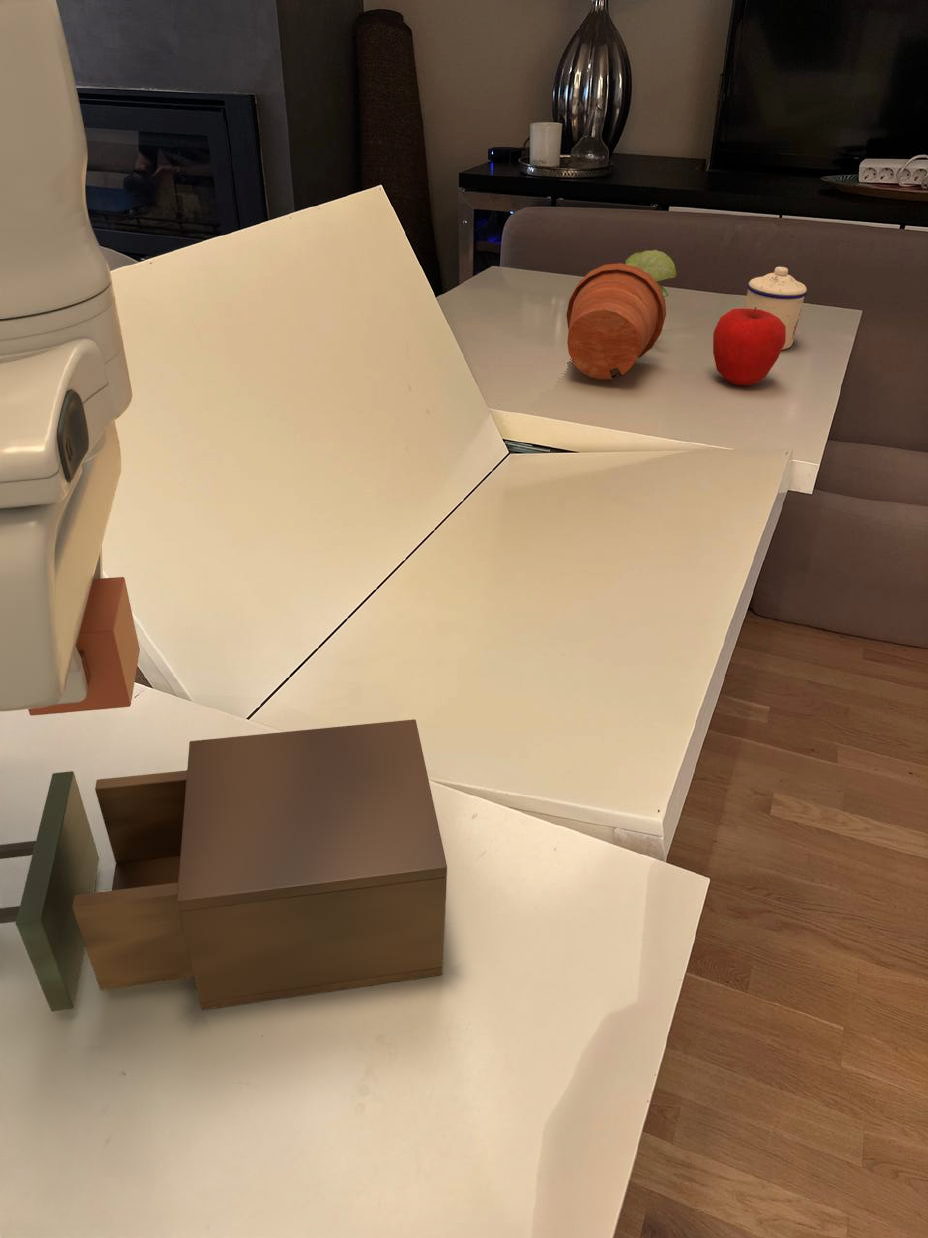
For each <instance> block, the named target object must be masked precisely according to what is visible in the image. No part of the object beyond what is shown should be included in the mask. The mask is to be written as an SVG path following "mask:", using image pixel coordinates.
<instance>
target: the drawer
mask: <svg viewBox="0 0 928 1238" xmlns="http://www.w3.org/2000/svg"><path fill="white" fill-rule="evenodd" d="M186 780H187V769H185V770H177V771H168V772H167V771H166V772H160V773H159V772H157V773H147V774H138V775H129V776H127V775H126V776H117V777H110V778H109V777H107V778H99V779H96V781H95V786H94V791H95V795H96V797H97V802H98V806H99V809H100V812H101V816H102V819H103V822H104V826H105V830H106V833H107V837H108V841H109V844H110V848H111V851H112V854H113V858H114V863H115V866H114V872H113V879H112V887H111V890H106V891H97V892H96V891H95V888H96V887H95V886H96V881H97V876H98V870H99V863H100V856H99V852H98V848H97V845H96V843H95V838H94V836H93V832H92V829H91V825H90V822H89V819H88V815H87V812H86V808H85V806H84V801H83V798H82V794H81V791H80V789H79V785H78V781H77V778H76V774H75V772H74V771H73V770H70V771H60V772H53V773H52V774H51V778H50V782H49V786H48V789H47V793H46V794H47V795H46V799H45V802H44V806H43V809H42V815H41V819H40V822H39V827H38V831H37V835H36V839H35V840H29V841H21V842H12V843H5V844H4V843H3V844H0V860H3V859H4V860H5V859H12V858H22V857H29V856H31V860H30V864H29V868H28V871H27V875H26V880H25V884H24V887H23V892H22V895H21V900H20V904H19V905H15V906H7V907H0V925H1V924H9V923H15V925H16V928H17V930H18V933H19V935H20V938H21V940H22V943H23V945H24V948H25V950H26V952H27V955H28V958H29V960H30V963H31V965H32V968H33V970H34V973H35V975H36V978H37V980H38V983H39V985H40V988H41V990H42V993H43V995H44V997H45V1000H46V1003H47V1005H48V1008H49V1009H50V1012H53V1013H54V1012H61V1011H68V1010H73V1009H74V1008H75V1004H76V998H77V992H78V988H79V987H78V985H79V983H80V982H79V981H80V975H81V970H82V969H81V968H82V963H83V958H84V952H85V949H86V952H87V956H88V959H89V961H90V965H91V967H92V971H93V973H94V976H95V979H96V982H97V984H98V987H99V990H100V991H106V990H113V989H120V988H128V987H135V986H142V985H149V984H155V983H156V984H157V983H162V982H170V981H177V980H185V979H191V978H192V979H193V978H194V974H193V970H192V966H191V961H190V957H189V953H188V948H187V944H186V940H185V935H184V931H183V927H182V922H181V918H180V914H179V909H178V905H177V891H178V878H179V866H180V854H181V841H182V829H183V817H184V804H185V792H186Z"/></svg>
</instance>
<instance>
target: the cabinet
mask: <svg viewBox="0 0 928 1238" xmlns="http://www.w3.org/2000/svg"><path fill="white" fill-rule="evenodd" d="M188 743H189V745H188V754H187V755H188V756H187V768H186V770H187V780H186V792H185V804H184V817H183V829H182V841H181V854H180V866H179V878H178V891H177V905H178V909H179V914H180V918H181V922H182V927H183V931H184V935H185V940H186V944H187V948H188V953H189V957H190V961H191V966H192V970H193V974H194V977H193V979H194V983H195V986H196V992H197V995H198V1001H199V1003H200V1008H201V1010H208V1009H209V1010H211V1009H215V1008H223V1007H230V1006H238V1005H244V1004H250V1003H251V1004H252V1003H257V1002H264V1001H271V1000H276V999H277V1000H278V999H285V998H291V997H298V996H305V995H306V996H307V995H313V994H320V993H325V992H332V991H339V990H344V989H345V990H346V989H353V988H359V987H366V986H367V987H368V986H372V985H373V986H374V985H381V984H386V983H393V982H400V981H407V980H414V979H423V978H428V977H435V976H441V975H443V972H444V956H445V955H444V954H445V953H444V950H445V934H446V933H445V931H446V930H445V929H446V908H447V907H446V905H447V883H448V882H447V881H448V879H447V878H448V865H447V860H446V855H445V850H444V846H443V841H442V840H443V839H442V836H441V831H440V826H439V821H438V818H437V813H436V808H435V802H434V799H433V793H432V789H431V784H430V779H429V775H428V770H427V766H426V761H425V757H424V751H423V746H422V742H421V737H420V732H419V728H418V723H417V719H415V718H414V719H403V720H394V721H383V722H382V721H381V722H373V723H363V724H353V725H352V724H351V725H343V726H342V725H341V726H332V727H322V728H321V727H319V728H310V729H300V730H291V731H290V730H289V731H281V732H279V731H278V732H270V733H260V734H259V733H258V734H249V735H240V736H239V735H238V736H229V737H219V738H208V739H198V740H197V739H196V740H190V741H189V742H188Z"/></svg>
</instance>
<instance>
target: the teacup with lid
mask: <svg viewBox="0 0 928 1238" xmlns="http://www.w3.org/2000/svg"><path fill="white" fill-rule="evenodd" d="M788 273H789V269H788V267H784V266H776V267H775V268H774V271H773V272H770V273H766V274H765V275H763V276H757V277H753V278H752V279H750V281H749V282H748V284H747V285H746V287H747V293H746V298H745V302H744V306H743V308H744V309H755V307H756V309H758V310H763V311H766V312H769V313H771V314H773V315H775V316H776V317H778V318H779V319H780V320H781V321H782V322H783V324H784V325H785V326H786V340H785V344H784V346H783V348H782V351H783V350H787V349H789V348H791V347H792V346H793V343H794V340H795V335H796V331H797V327H798V325H799V324H798V323H799V320H800V317H801V316H800V315H801V311H802V308H803V303H804V301H805V300H804V299H805V296H807V294H808V290H807V286H806V285H805V284H804V283H802V282H800V281H799V280H796V279H795V278H794V277H793V276H792V275H790V274H788Z"/></svg>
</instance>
